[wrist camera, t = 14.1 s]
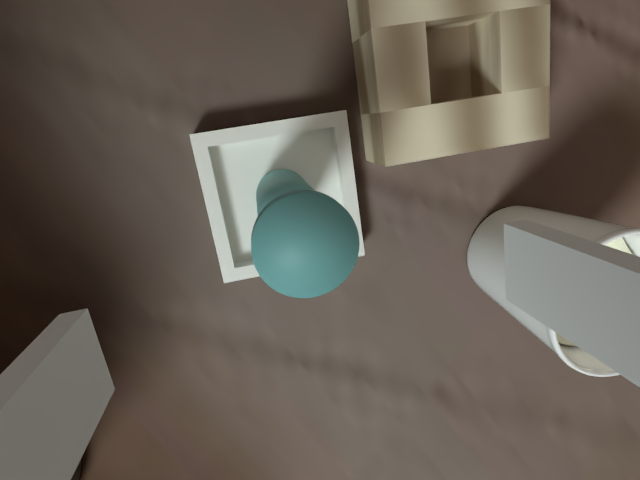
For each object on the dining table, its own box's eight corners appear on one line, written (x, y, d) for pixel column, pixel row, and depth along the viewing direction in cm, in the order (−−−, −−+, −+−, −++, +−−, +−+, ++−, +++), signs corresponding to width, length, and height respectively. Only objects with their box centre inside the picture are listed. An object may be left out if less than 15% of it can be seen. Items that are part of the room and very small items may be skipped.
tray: (225, 274, 33) (224, 283, 32) (193, 133, 30) (189, 134, 28) (358, 248, 35) (364, 255, 33) (340, 110, 31) (346, 109, 30)
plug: (257, 232, 32) (263, 308, 19) (244, 170, 31) (240, 204, 17) (318, 219, 33) (366, 285, 19) (308, 158, 31) (351, 183, 18)
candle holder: (480, 183, 35) (592, 212, 23) (576, 211, 37) (722, 249, 26) (442, 291, 37) (528, 365, 26) (535, 310, 39) (652, 387, 28)
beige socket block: (365, 160, 33) (385, 166, 28) (345, -11, 29) (364, -37, 25) (507, 136, 34) (549, 138, 29) (504, -31, 31) (550, -59, 26)
